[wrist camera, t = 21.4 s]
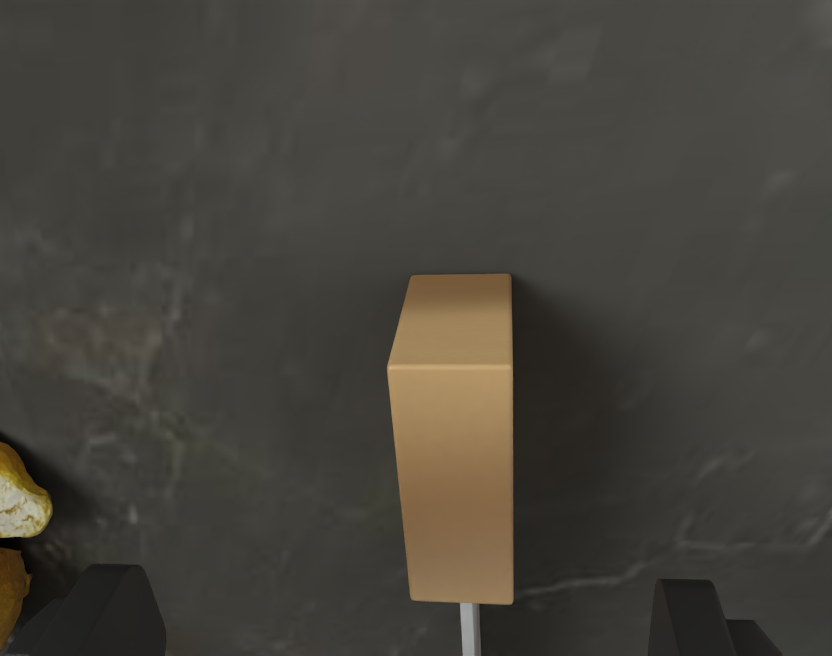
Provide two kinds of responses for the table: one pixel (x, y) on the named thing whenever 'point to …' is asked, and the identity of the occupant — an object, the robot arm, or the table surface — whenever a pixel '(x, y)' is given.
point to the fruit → (17, 532)
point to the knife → (456, 441)
